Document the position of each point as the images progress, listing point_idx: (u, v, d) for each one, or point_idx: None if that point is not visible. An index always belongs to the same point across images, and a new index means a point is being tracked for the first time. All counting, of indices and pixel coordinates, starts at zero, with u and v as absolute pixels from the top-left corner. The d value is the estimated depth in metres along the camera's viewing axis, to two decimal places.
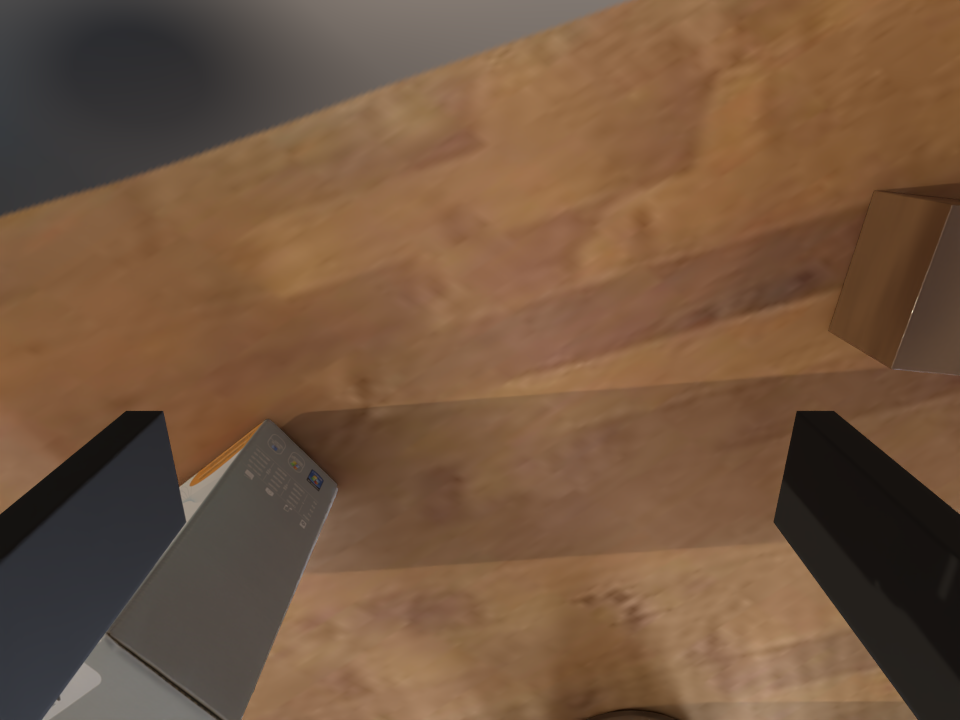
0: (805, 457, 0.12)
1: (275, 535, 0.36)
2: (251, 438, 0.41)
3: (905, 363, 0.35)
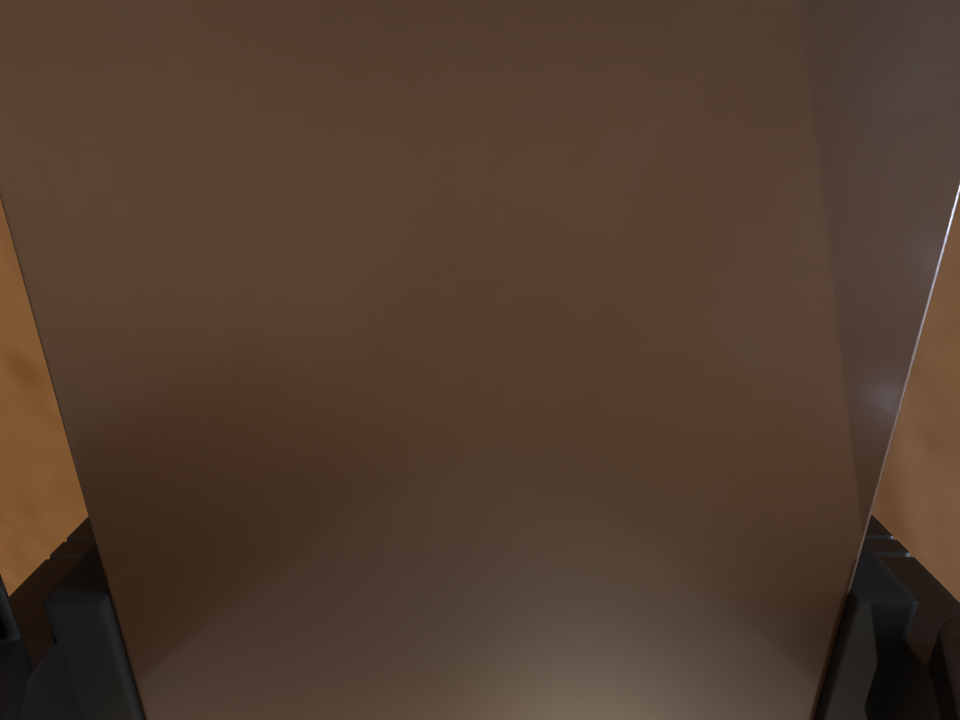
0: None
1: None
2: None
3: None
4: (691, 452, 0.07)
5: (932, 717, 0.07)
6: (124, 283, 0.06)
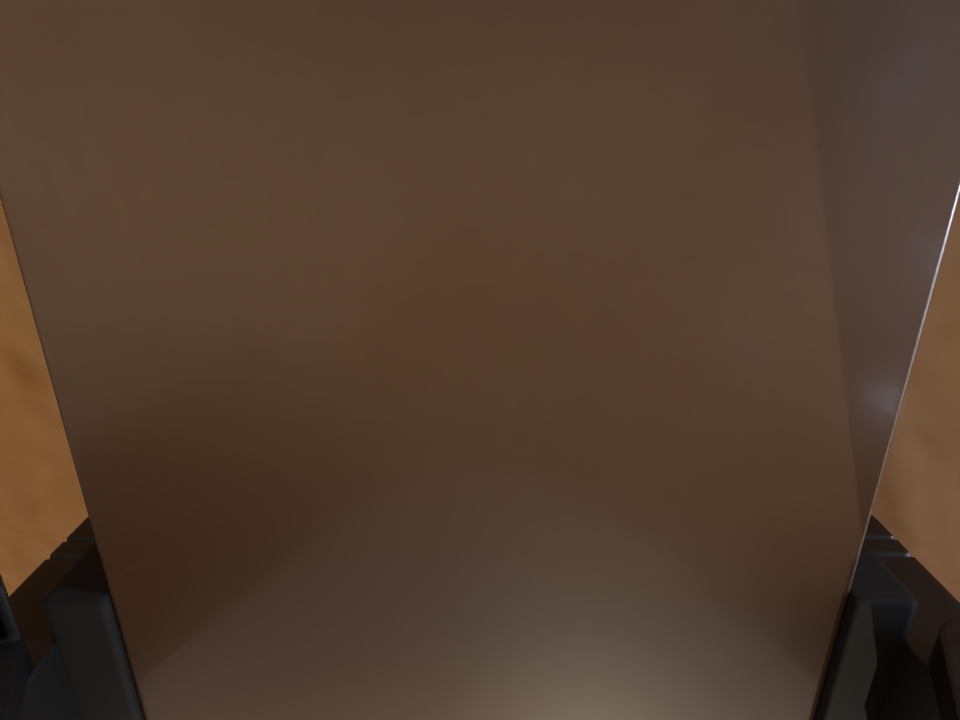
0: None
1: None
2: None
3: None
4: (691, 452, 0.07)
5: (932, 717, 0.07)
6: (124, 283, 0.06)
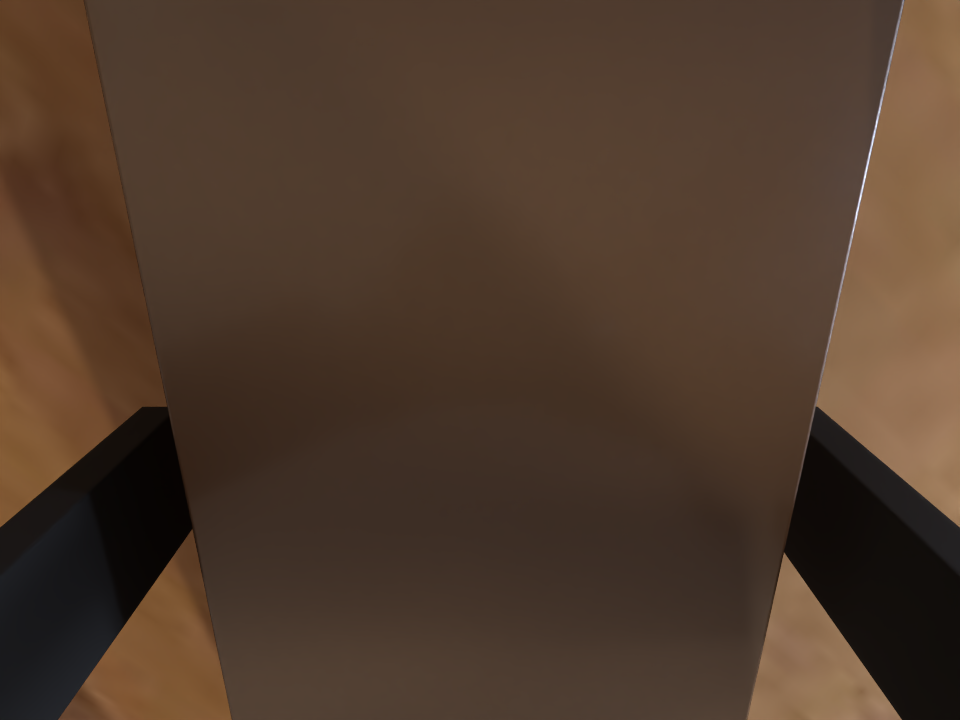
0: None
1: None
2: None
3: None
4: (662, 383, 0.09)
5: None
6: (212, 244, 0.08)
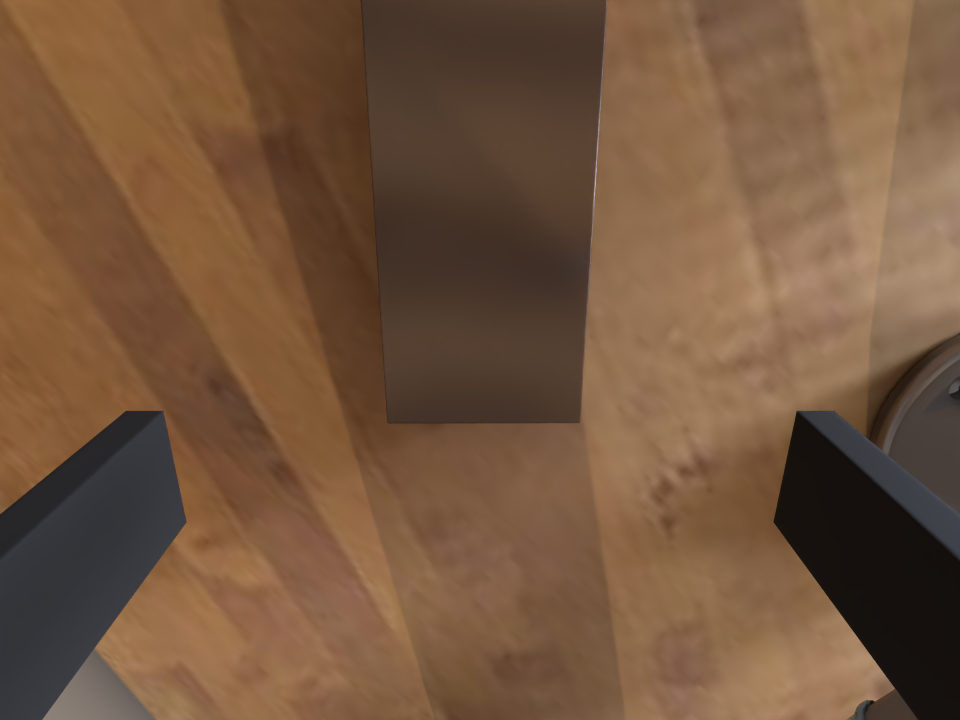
0: (805, 457, 0.12)
1: None
2: None
3: (571, 411, 0.29)
4: (540, 208, 0.26)
5: None
6: (396, 159, 0.25)
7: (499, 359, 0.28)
